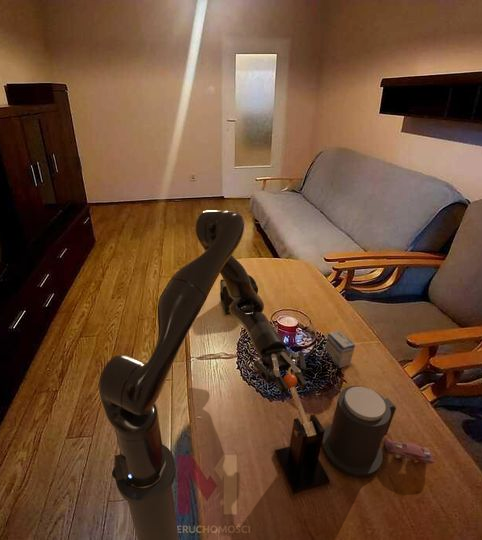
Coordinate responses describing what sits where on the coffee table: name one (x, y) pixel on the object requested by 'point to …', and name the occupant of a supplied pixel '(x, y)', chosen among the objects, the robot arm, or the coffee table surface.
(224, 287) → the camera
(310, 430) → the orange knob lever
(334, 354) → the medicine box
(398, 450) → the pink elongated piece
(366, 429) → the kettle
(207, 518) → the coffee table surface
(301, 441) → the switch stand
